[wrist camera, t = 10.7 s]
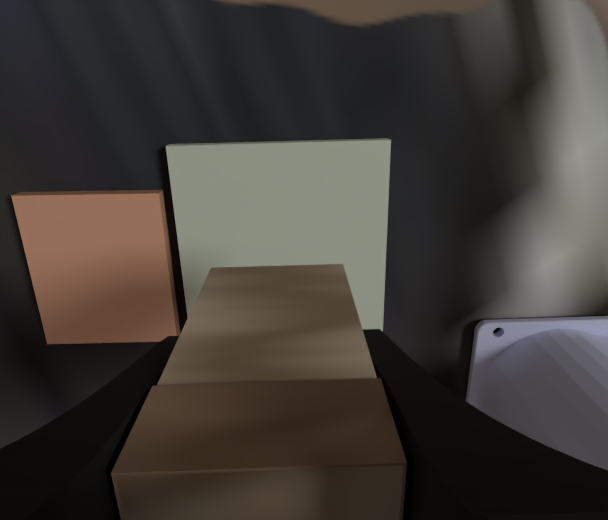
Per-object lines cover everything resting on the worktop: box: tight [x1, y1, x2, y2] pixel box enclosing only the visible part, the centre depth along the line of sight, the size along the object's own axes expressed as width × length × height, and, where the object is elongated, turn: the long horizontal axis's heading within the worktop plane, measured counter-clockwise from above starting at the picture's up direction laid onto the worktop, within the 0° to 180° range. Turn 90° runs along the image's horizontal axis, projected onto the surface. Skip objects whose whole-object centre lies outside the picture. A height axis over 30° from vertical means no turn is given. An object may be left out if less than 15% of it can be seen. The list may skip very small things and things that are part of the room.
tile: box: [11, 190, 180, 344], centre depth 21 cm, size 6×1×7 cm
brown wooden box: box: [111, 264, 407, 520], centre depth 11 cm, size 4×2×8 cm, turn 91°
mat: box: [166, 138, 391, 332], centre depth 20 cm, size 9×9×1 cm
